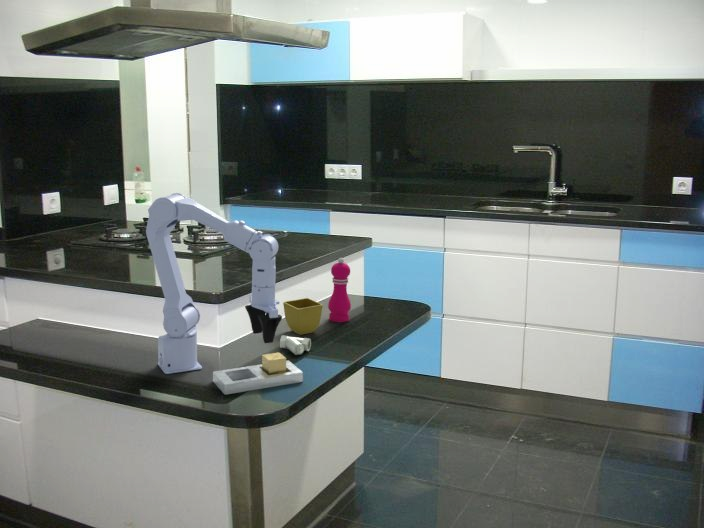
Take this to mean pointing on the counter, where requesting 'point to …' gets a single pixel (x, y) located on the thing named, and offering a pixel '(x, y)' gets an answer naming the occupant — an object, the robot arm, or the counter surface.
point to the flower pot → (302, 315)
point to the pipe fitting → (295, 344)
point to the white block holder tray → (254, 378)
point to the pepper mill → (339, 293)
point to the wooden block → (273, 363)
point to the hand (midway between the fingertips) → (262, 337)
